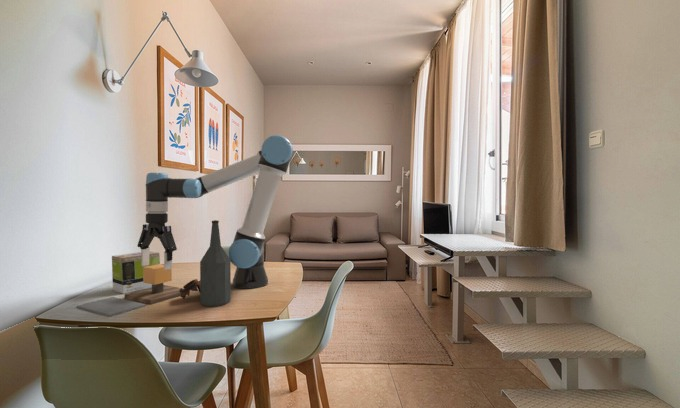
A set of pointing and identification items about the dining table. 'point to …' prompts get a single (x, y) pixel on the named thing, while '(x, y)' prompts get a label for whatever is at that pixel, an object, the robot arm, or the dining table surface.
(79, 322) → the dining table surface
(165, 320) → the dining table surface
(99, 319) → the dining table surface
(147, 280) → the orange foam cube
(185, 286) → the brown animal figurine
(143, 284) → the tea box
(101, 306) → the mat
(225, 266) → the bottle
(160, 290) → the post stand
